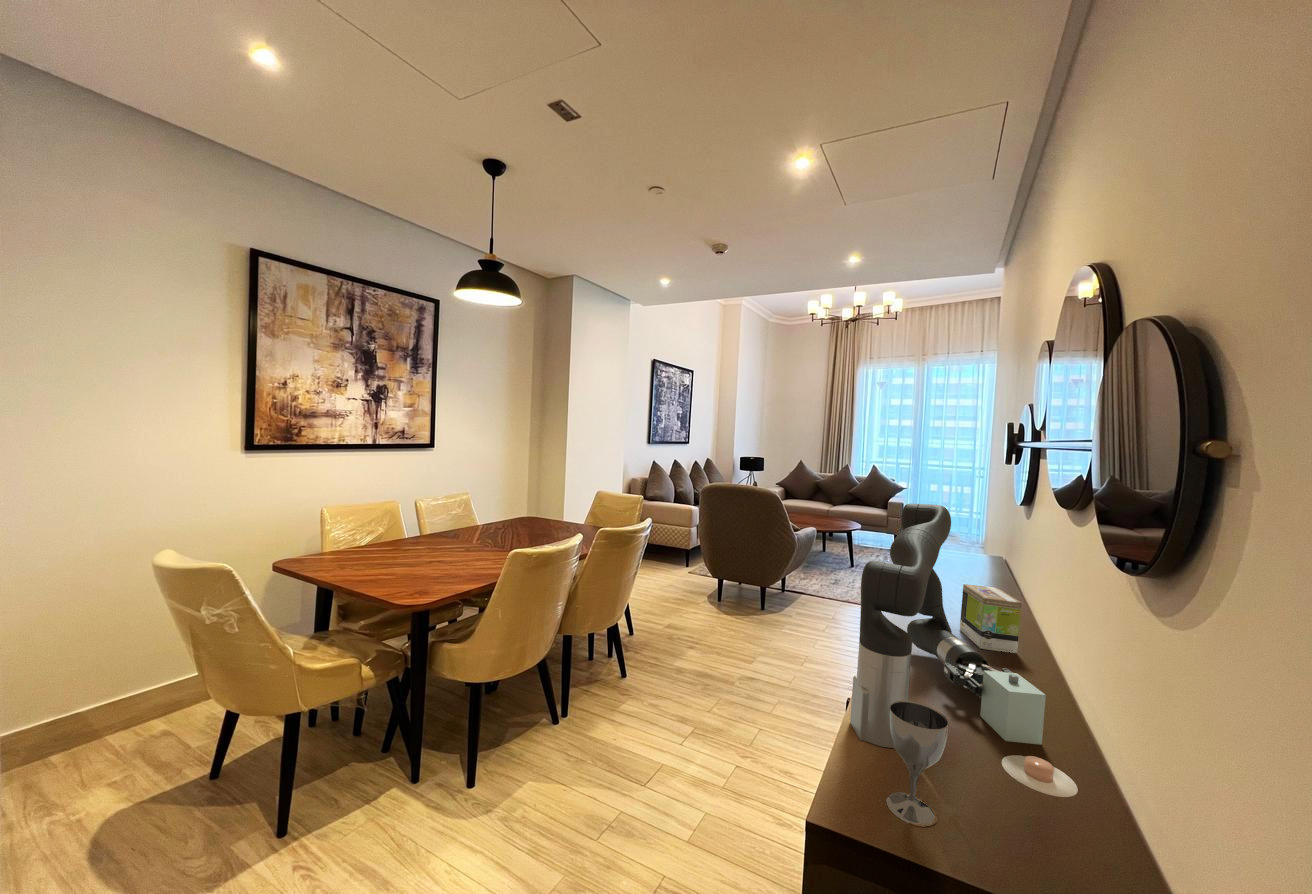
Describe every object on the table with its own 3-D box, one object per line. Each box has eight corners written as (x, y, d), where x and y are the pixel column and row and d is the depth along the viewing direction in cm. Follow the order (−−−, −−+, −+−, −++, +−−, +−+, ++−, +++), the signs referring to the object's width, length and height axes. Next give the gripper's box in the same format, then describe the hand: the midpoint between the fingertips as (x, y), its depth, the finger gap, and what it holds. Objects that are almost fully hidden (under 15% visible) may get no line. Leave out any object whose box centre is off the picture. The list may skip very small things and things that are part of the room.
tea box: (1019, 654, 140) (1023, 602, 139) (979, 649, 142) (983, 597, 141) (994, 633, 154) (997, 586, 154) (958, 629, 156) (961, 582, 156)
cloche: (1005, 742, 96) (1009, 685, 96) (980, 717, 105) (984, 664, 104) (1041, 746, 95) (1046, 688, 95) (1013, 720, 104) (1017, 667, 104)
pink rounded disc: (1033, 781, 85) (1034, 769, 84) (1018, 765, 89) (1019, 754, 88) (1058, 784, 84) (1059, 772, 84) (1042, 768, 88) (1043, 757, 88)
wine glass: (922, 791, 82) (928, 701, 81) (952, 830, 74) (960, 730, 73) (874, 790, 81) (880, 699, 81) (899, 828, 73) (906, 728, 73)
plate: (1025, 797, 82) (1026, 792, 82) (988, 756, 92) (989, 752, 92) (1093, 805, 81) (1094, 800, 81) (1049, 763, 91) (1049, 758, 91)
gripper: (931, 640, 119) (967, 672, 103) (993, 646, 118) (1040, 679, 102) (928, 671, 120) (965, 708, 103) (991, 677, 118) (1037, 715, 102)
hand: (1002, 694), depth 103 cm, fingers open, 8 cm apart
